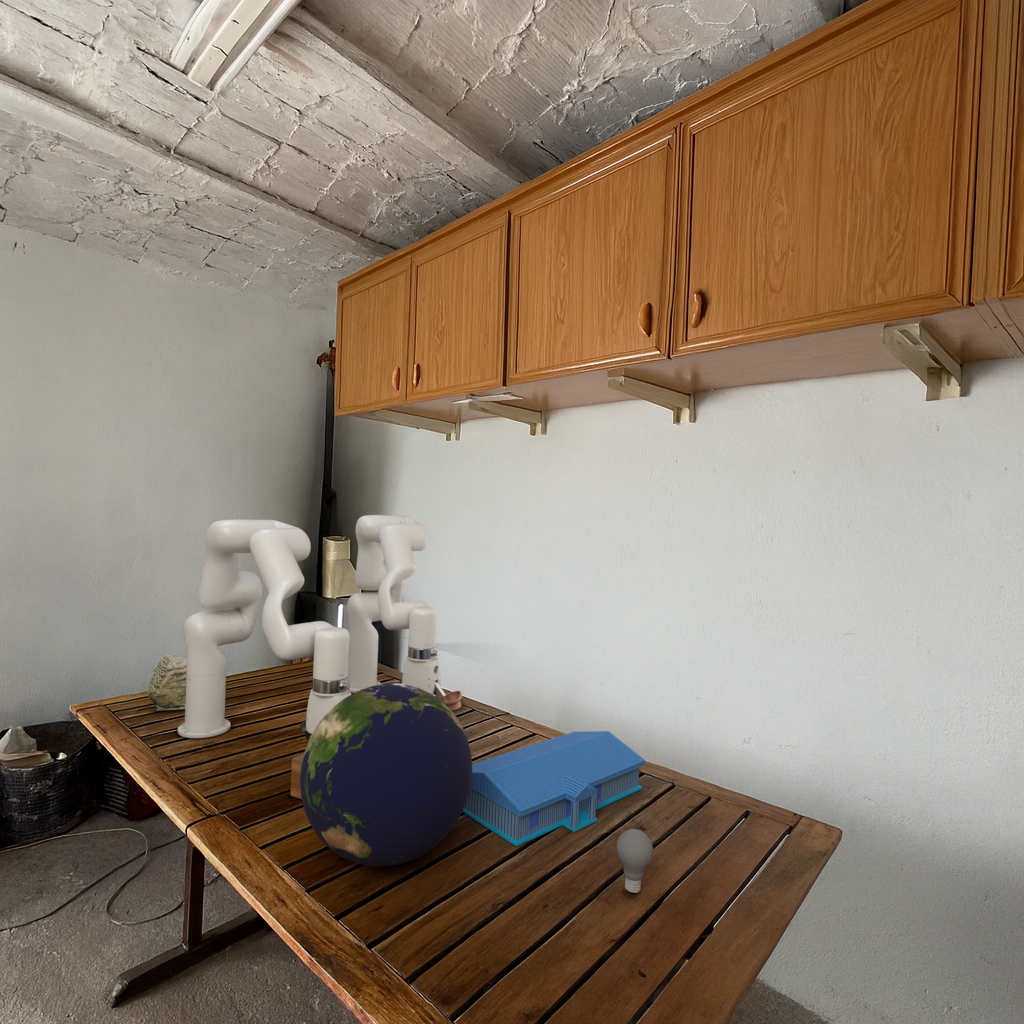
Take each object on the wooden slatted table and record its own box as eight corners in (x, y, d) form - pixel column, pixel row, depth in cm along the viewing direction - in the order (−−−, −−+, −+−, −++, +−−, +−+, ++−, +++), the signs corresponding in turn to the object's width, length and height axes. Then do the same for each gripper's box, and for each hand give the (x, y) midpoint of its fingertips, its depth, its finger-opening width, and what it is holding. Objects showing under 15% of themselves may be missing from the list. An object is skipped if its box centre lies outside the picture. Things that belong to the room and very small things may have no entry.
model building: (528, 854, 115) (530, 799, 115) (447, 802, 133) (449, 755, 133) (654, 793, 142) (656, 749, 141) (573, 757, 160) (574, 718, 159)
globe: (257, 876, 105) (264, 696, 104) (364, 800, 133) (370, 657, 132) (413, 929, 94) (422, 728, 93) (494, 834, 121) (501, 678, 121)
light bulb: (610, 879, 108) (613, 822, 108) (644, 879, 109) (647, 822, 109) (619, 902, 102) (622, 840, 102) (655, 901, 103) (658, 840, 103)
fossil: (144, 707, 182) (145, 655, 182) (212, 696, 194) (213, 647, 194) (151, 716, 175) (153, 662, 175) (221, 703, 188) (223, 653, 188)
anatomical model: (412, 696, 190) (425, 685, 201) (412, 709, 190) (424, 698, 201) (455, 701, 187) (465, 690, 199) (454, 714, 188) (465, 702, 199)
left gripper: (372, 687, 139) (369, 768, 139) (312, 674, 146) (309, 751, 147) (350, 696, 132) (346, 781, 132) (288, 682, 140) (285, 763, 140)
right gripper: (456, 654, 171) (453, 720, 171) (403, 645, 179) (401, 708, 179) (441, 660, 164) (438, 729, 165) (387, 650, 172) (384, 716, 172)
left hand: (327, 765), depth 140 cm, fingers open, 6 cm apart
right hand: (419, 717), depth 172 cm, fingers open, 6 cm apart
